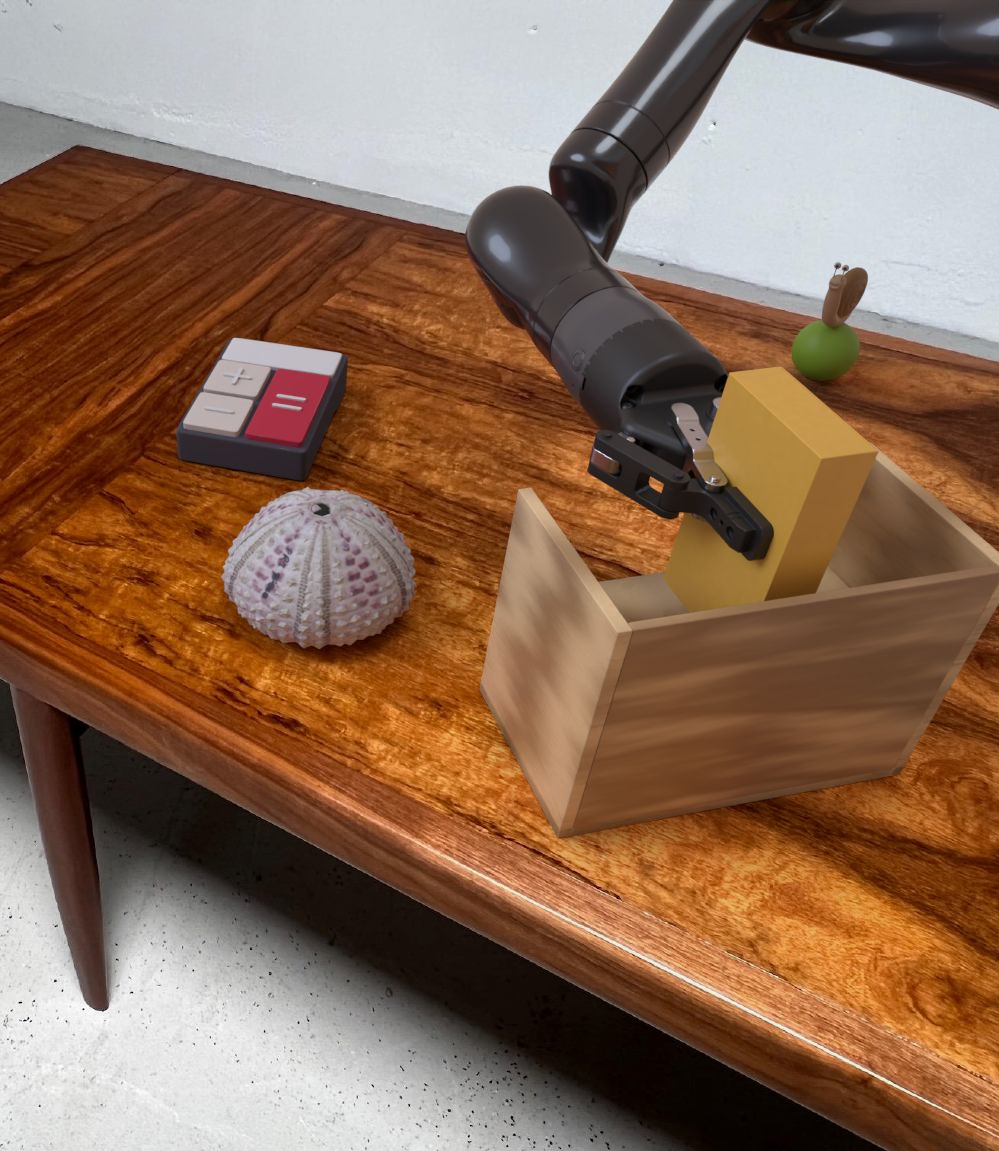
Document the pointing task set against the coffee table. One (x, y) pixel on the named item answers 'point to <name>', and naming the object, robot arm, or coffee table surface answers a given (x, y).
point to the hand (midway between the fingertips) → (794, 541)
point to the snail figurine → (832, 330)
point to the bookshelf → (731, 666)
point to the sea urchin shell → (320, 569)
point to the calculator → (264, 408)
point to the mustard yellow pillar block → (773, 493)
